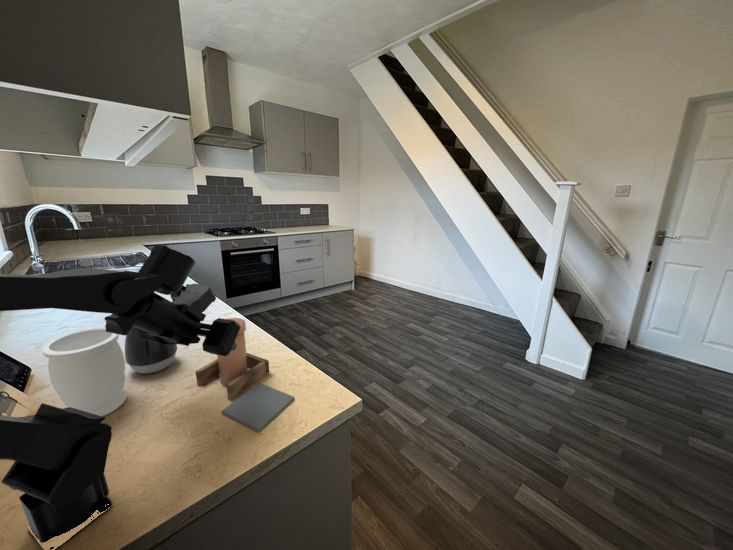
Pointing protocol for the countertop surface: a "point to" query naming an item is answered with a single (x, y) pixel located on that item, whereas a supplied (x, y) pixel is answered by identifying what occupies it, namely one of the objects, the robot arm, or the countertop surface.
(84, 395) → the jar
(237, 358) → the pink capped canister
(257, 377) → the frame
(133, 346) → the pump dispenser
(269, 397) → the mat
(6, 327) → the countertop surface
